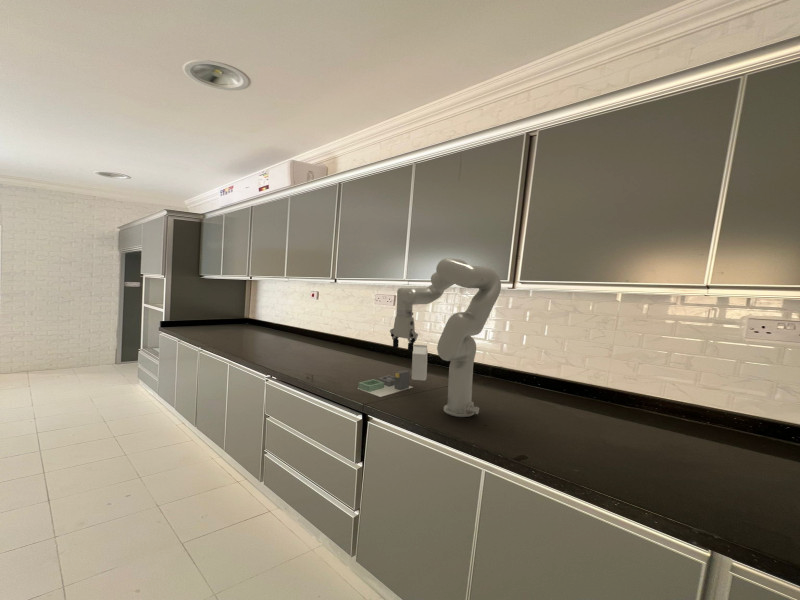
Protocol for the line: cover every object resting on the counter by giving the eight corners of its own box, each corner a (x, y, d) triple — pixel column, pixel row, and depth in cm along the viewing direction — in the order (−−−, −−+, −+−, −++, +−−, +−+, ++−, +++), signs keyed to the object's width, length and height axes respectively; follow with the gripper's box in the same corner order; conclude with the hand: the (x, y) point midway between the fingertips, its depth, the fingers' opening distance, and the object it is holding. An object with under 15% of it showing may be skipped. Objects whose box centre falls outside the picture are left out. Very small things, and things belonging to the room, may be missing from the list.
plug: (409, 387, 169) (409, 371, 168) (399, 390, 164) (399, 373, 163) (402, 385, 171) (403, 369, 171) (393, 388, 166) (393, 372, 166)
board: (413, 389, 170) (413, 382, 170) (380, 399, 154) (380, 391, 154) (389, 382, 181) (390, 375, 181) (356, 390, 165) (357, 383, 165)
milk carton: (424, 382, 182) (426, 346, 181) (411, 381, 184) (412, 345, 183) (426, 379, 189) (427, 344, 188) (413, 377, 191) (414, 343, 190)
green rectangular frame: (384, 387, 167) (384, 382, 167) (369, 391, 160) (369, 386, 160) (373, 384, 172) (373, 379, 172) (358, 388, 165) (358, 382, 165)
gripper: (423, 315, 163) (421, 351, 164) (396, 311, 175) (395, 345, 176) (412, 316, 157) (411, 353, 158) (385, 312, 169) (384, 347, 170)
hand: (402, 349), depth 167 cm, fingers open, 9 cm apart
